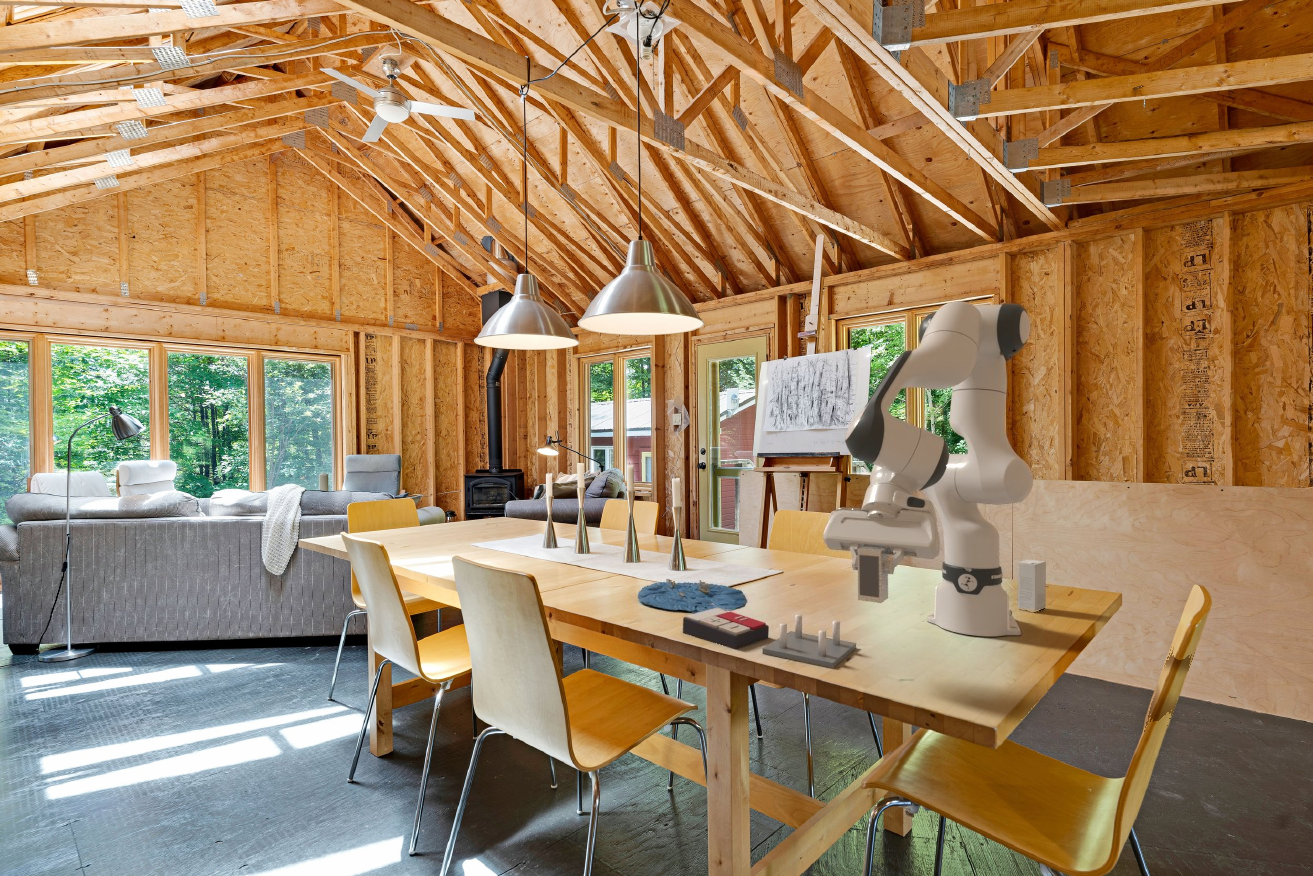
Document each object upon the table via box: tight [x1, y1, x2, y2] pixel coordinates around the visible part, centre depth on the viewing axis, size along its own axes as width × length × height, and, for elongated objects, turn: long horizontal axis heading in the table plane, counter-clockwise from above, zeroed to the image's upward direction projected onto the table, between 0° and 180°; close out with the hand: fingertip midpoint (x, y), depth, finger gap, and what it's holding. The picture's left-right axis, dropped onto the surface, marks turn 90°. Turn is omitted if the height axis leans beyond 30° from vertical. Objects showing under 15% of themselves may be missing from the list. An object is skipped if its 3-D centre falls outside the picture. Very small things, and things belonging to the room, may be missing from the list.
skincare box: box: [1017, 559, 1047, 611], centre depth 153 cm, size 6×4×12 cm
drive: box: [857, 546, 889, 604], centre depth 109 cm, size 5×4×9 cm
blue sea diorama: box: [637, 578, 748, 614], centre depth 164 cm, size 30×30×5 cm
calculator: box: [682, 607, 770, 650], centre depth 132 cm, size 11×4×15 cm
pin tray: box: [761, 613, 857, 669], centre depth 122 cm, size 14×14×6 cm
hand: (872, 570), depth 109 cm, fingers closed on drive, 4 cm apart
